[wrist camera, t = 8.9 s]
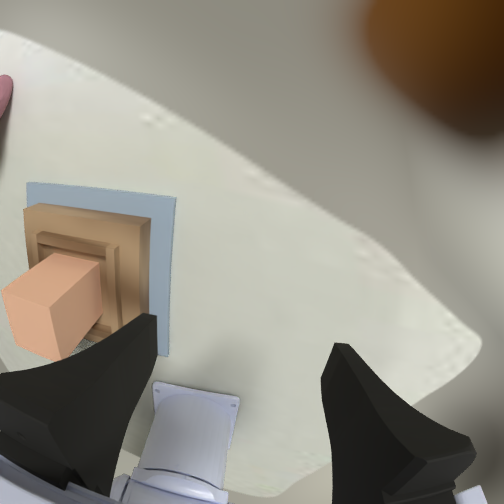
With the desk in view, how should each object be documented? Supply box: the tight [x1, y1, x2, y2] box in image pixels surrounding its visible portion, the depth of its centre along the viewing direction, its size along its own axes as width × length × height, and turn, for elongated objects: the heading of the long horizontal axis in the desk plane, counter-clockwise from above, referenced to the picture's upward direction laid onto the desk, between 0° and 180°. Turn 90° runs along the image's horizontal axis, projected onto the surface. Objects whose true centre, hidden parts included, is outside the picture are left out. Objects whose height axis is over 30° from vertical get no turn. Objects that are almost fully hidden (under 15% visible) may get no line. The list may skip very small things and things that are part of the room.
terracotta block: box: [1, 253, 103, 362], centre depth 16 cm, size 4×4×6 cm
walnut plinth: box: [23, 203, 151, 343], centre depth 20 cm, size 10×10×3 cm
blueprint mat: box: [27, 182, 176, 357], centre depth 21 cm, size 13×13×1 cm
